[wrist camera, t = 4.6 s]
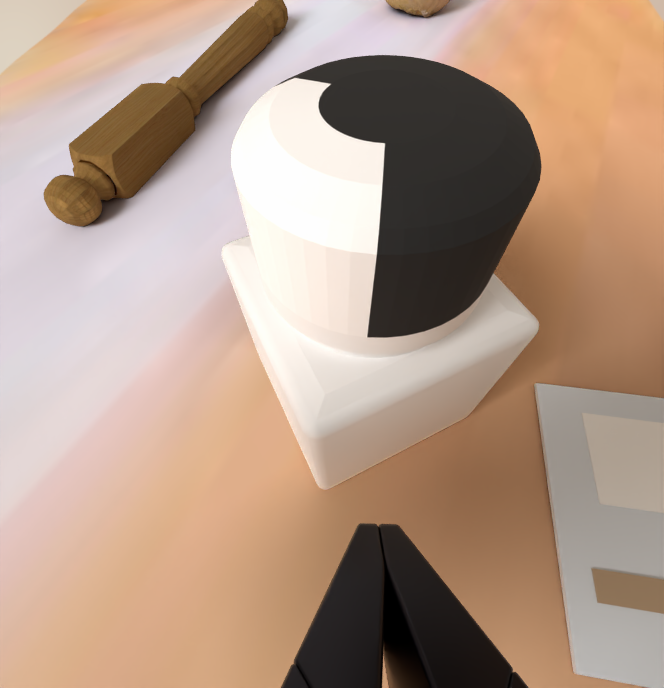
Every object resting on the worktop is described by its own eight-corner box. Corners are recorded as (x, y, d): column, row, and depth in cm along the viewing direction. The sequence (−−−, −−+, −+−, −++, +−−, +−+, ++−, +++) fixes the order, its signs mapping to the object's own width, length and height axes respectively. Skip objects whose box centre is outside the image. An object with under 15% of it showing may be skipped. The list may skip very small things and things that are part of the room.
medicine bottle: (386, 298, 20) (438, -2, 9) (471, 416, 16) (697, 152, 6) (257, 352, 18) (148, 65, 8) (321, 494, 15) (279, 321, 4)
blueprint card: (820, 718, 11) (829, 721, 11) (573, 672, 12) (577, 674, 12) (702, 405, 16) (708, 402, 16) (533, 384, 17) (536, 382, 17)
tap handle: (288, -8, 34) (63, 198, 20) (291, 33, 37) (96, 241, 23) (257, -12, 35) (18, 186, 20) (263, 29, 38) (54, 230, 23)
